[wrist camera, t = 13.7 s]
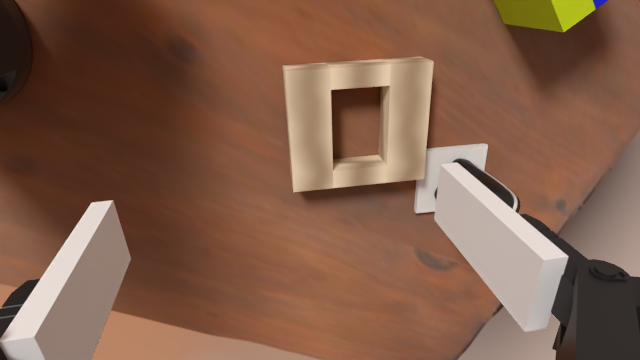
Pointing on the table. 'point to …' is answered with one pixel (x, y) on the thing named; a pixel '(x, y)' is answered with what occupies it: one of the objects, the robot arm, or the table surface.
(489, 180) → the battery charger
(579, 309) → the robot arm
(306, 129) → the holder block
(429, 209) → the white square tile
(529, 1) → the puzzle toy
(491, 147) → the table surface
